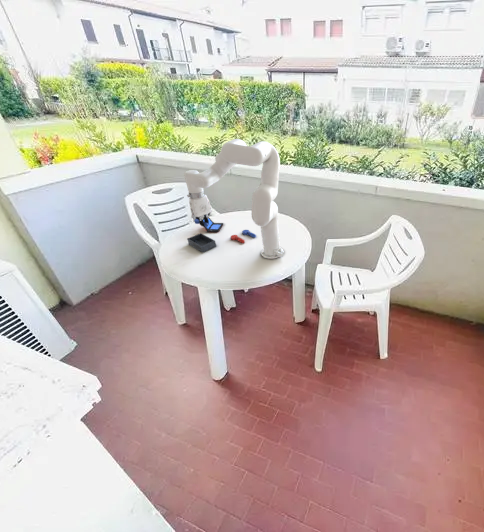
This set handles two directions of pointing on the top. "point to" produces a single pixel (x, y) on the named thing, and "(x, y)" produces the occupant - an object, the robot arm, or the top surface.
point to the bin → (201, 242)
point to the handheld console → (213, 226)
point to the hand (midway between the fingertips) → (204, 225)
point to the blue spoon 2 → (248, 233)
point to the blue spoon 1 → (199, 223)
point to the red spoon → (237, 238)
